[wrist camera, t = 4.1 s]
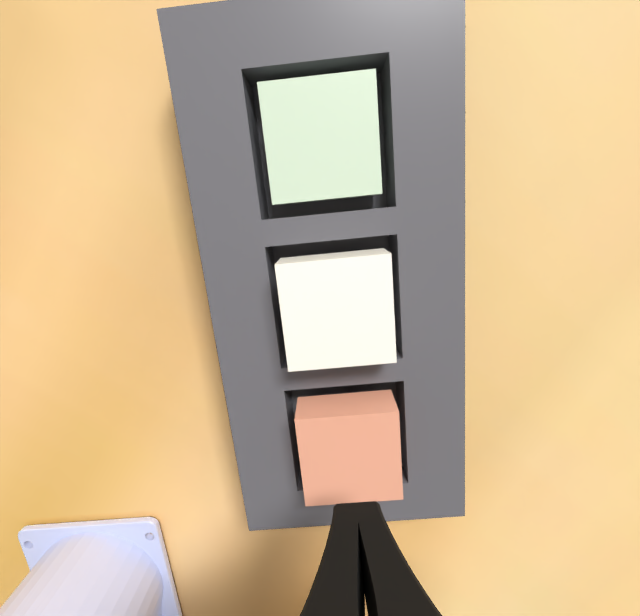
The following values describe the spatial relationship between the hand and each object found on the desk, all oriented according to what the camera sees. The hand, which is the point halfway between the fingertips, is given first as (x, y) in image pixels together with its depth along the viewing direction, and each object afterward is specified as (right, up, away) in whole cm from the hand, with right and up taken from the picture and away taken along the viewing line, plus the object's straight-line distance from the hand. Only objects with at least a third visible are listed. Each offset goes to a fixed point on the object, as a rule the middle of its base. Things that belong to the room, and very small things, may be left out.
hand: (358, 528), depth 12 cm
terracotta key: (0, +1, +5) cm, 5 cm away
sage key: (-1, +13, +3) cm, 14 cm away
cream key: (-1, +7, +3) cm, 8 cm away
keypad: (-1, +8, +6) cm, 10 cm away
